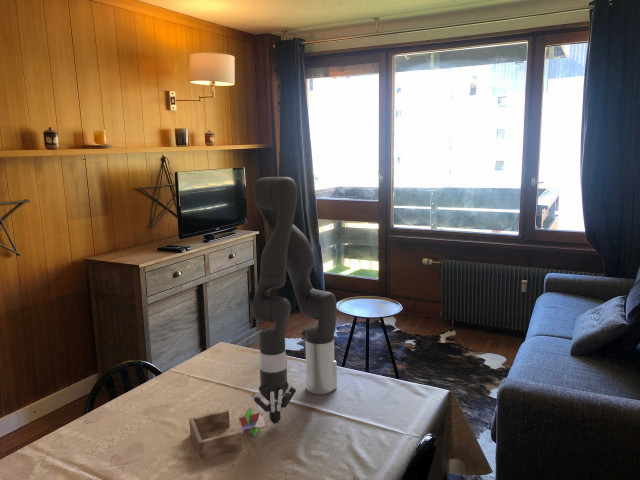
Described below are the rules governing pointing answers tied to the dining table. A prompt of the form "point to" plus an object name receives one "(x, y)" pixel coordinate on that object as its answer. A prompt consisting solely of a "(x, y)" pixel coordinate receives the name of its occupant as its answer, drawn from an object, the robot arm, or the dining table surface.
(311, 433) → the dining table surface
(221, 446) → the box
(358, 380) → the dining table surface
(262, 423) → the geometric puzzle
